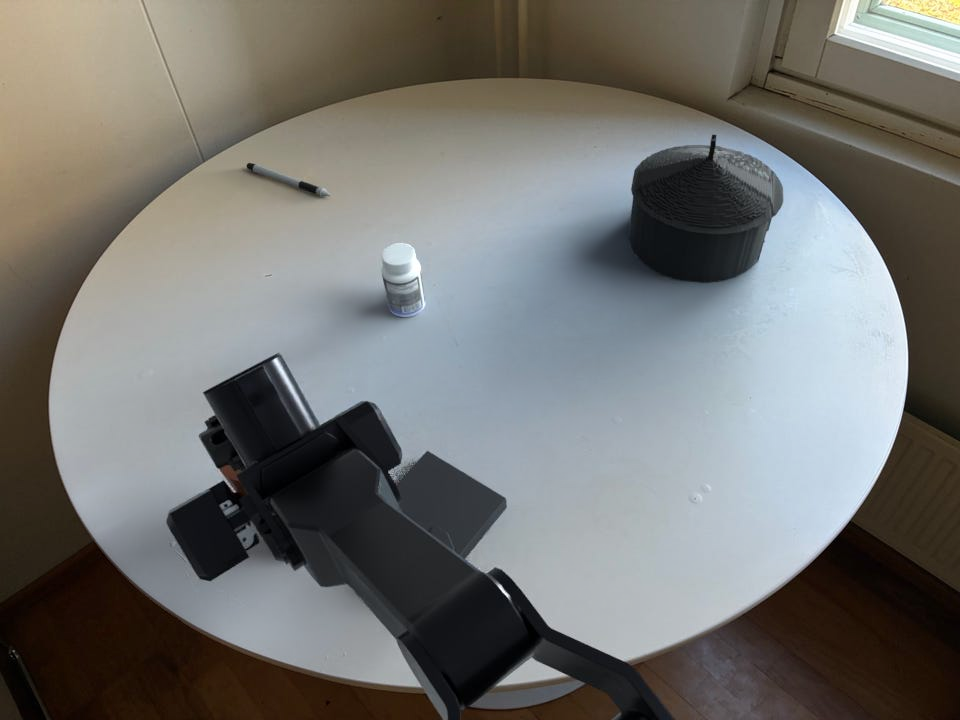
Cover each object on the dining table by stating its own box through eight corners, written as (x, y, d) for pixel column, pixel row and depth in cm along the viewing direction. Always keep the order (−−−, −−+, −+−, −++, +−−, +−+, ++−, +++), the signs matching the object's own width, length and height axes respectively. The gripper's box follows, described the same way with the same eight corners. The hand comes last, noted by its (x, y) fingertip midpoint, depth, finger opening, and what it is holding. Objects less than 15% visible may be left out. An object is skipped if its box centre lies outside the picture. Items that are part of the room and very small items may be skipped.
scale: (428, 614, 69) (423, 597, 66) (343, 552, 73) (336, 534, 71) (511, 510, 75) (510, 490, 73) (428, 459, 80) (425, 439, 77)
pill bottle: (395, 289, 98) (386, 237, 91) (430, 295, 97) (423, 243, 90) (382, 315, 95) (372, 263, 88) (418, 321, 94) (410, 269, 87)
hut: (768, 294, 94) (800, 192, 82) (619, 276, 97) (630, 177, 86) (767, 203, 105) (794, 104, 94) (633, 191, 109) (645, 93, 98)
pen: (252, 167, 118) (250, 159, 117) (335, 197, 112) (333, 189, 111) (246, 171, 117) (244, 164, 116) (329, 201, 111) (327, 194, 110)
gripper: (363, 339, 58) (322, 353, 73) (125, 466, 52) (132, 454, 66) (431, 465, 60) (377, 454, 74) (208, 605, 53) (197, 563, 67)
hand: (275, 477), depth 70 cm, fingers closed on jar, 7 cm apart
